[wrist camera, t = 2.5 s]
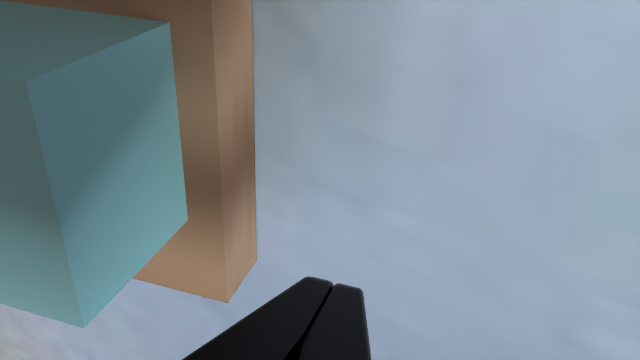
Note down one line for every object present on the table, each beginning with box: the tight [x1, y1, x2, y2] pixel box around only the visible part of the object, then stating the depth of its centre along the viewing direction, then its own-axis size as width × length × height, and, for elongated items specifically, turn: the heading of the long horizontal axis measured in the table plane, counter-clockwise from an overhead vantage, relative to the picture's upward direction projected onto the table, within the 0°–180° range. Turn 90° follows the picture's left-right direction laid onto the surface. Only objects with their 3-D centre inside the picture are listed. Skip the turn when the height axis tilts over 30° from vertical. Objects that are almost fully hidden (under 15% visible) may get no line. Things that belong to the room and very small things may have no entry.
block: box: [0, 0, 188, 328], centre depth 12 cm, size 5×6×4 cm
